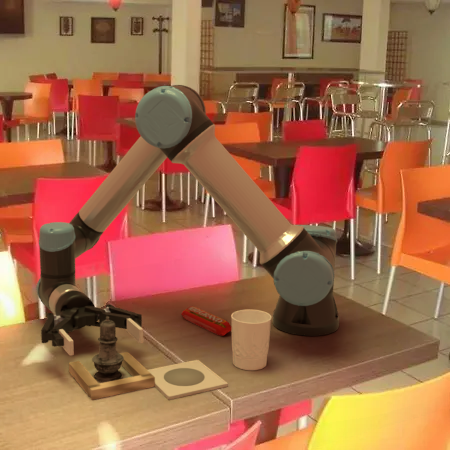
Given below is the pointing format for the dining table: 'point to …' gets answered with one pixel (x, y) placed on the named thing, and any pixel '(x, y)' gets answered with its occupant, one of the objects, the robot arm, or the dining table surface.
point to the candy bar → (206, 320)
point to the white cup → (250, 338)
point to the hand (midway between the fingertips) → (107, 342)
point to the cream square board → (186, 379)
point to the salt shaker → (107, 354)
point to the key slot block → (96, 390)
